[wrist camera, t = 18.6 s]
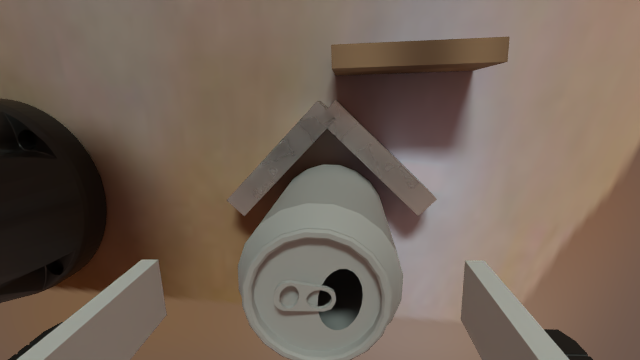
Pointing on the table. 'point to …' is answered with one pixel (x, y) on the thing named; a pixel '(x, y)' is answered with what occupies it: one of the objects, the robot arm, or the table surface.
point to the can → (321, 268)
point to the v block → (352, 138)
